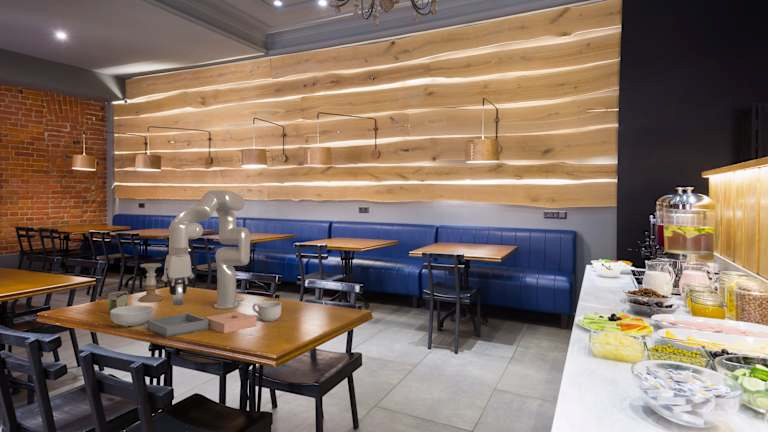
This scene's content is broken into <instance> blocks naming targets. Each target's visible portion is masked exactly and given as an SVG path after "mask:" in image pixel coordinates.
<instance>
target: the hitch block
mask: <svg viewBox="0 0 768 432" xmlns="http://www.w3.org/2000/svg"><path fill="white" fill-rule="evenodd" d="M204 319H207V320H208V329H211V330H214V331H217V332H220V333H223V334H227V333H232V332H235V331H240V330H245V329H248V328H253V327H257V323H258V322H257V317H256V316H254V315H252V314H251V315H250V314H247V313H243V312H240V311H238V310H237V311H232V312H227V313H226V312H225V313H223V314H222V313H221V314H215V315H211V316H210V315H209V316H205V317H204Z"/></svg>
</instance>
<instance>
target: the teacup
mask: <svg viewBox="0 0 768 432" xmlns="http://www.w3.org/2000/svg"><path fill="white" fill-rule="evenodd" d="M256 307H257V308H258V309H256ZM251 308H252V310H253V312H255V313H256V314H257V315H258V317H259V319H260V320H262V321H263V322H275V321H277V320H278V319H279V318H280V317H281V315H282V302H280V301H278V300H266V301H262V302H260V303H258V302H255V303H253V305H252V307H251Z"/></svg>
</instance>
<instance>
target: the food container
mask: <svg viewBox="0 0 768 432" xmlns="http://www.w3.org/2000/svg"><path fill="white" fill-rule="evenodd" d="M128 296H129V292H128V290H125V291H124V290H123V291H121V290H120V291H114V292H111V293H108V295H107V300H108V302H109V312H110V311H111V310H112V309H115V308H118V307H124V306H128Z"/></svg>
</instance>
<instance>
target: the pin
mask: <svg viewBox="0 0 768 432" xmlns="http://www.w3.org/2000/svg"><path fill="white" fill-rule="evenodd" d="M174 286H175V295H172V306H176V307H177V306H183V305H184V293H183V279H182V278H175V283H174Z"/></svg>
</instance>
